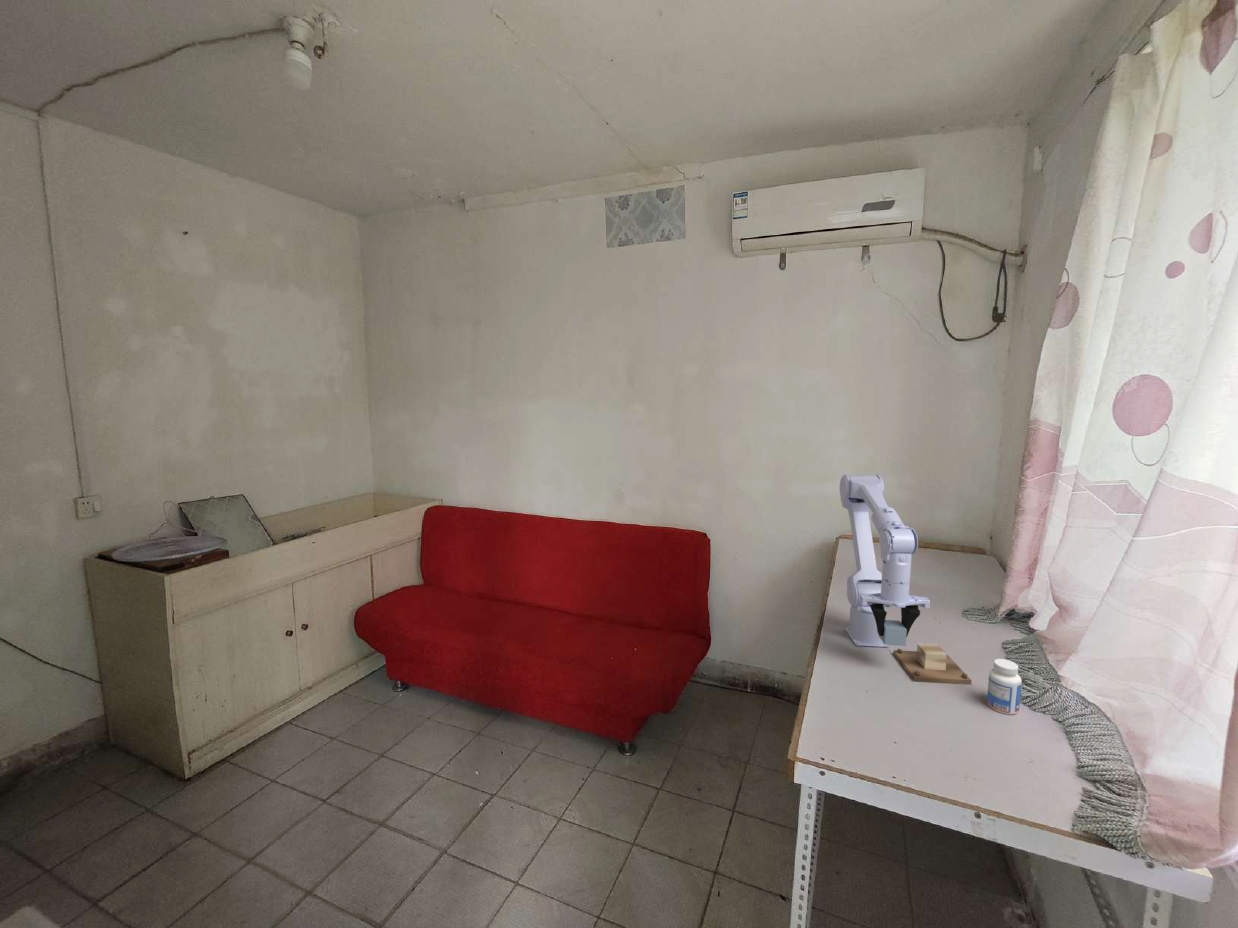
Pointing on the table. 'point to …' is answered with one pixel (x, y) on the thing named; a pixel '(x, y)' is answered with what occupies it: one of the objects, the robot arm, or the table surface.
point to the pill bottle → (1004, 687)
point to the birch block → (931, 656)
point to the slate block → (894, 633)
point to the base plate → (926, 675)
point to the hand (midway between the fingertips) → (892, 634)
